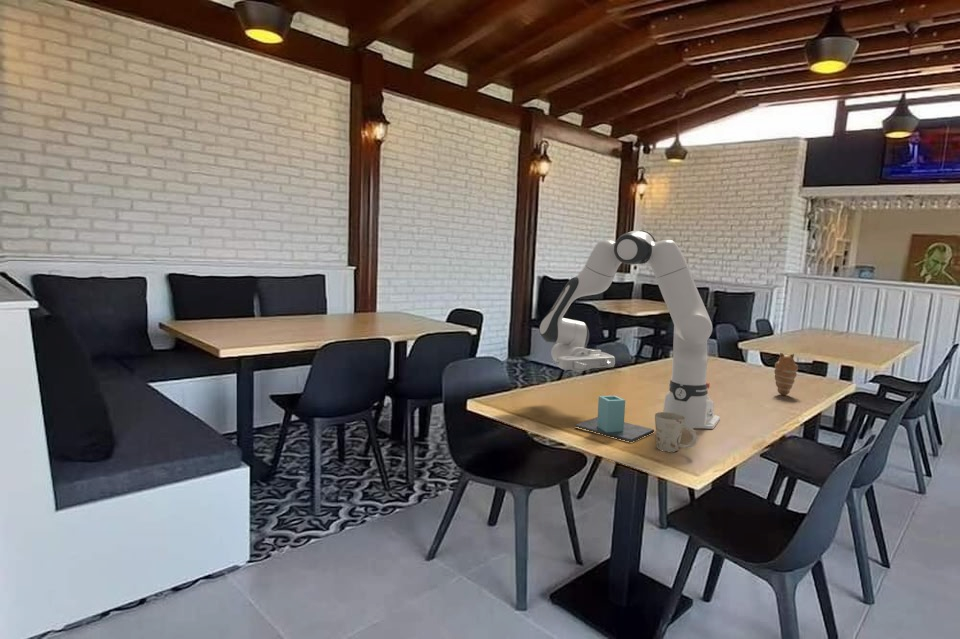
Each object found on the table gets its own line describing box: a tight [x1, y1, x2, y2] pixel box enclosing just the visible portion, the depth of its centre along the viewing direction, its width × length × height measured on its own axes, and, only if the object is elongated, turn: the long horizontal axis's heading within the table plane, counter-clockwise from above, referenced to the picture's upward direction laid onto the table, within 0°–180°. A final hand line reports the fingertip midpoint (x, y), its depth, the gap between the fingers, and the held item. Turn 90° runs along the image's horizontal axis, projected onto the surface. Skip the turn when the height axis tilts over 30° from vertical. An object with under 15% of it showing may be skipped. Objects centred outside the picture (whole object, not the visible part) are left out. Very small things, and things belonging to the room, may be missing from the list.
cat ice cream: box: [774, 352, 799, 396], centre depth 245 cm, size 9×8×18 cm
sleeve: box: [597, 395, 626, 432], centre depth 185 cm, size 6×6×10 cm
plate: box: [574, 416, 655, 443], centre depth 187 cm, size 15×20×6 cm
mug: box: [654, 411, 698, 453], centre depth 169 cm, size 8×13×10 cm, turn 51°
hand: (597, 365), depth 197 cm, fingers open, 8 cm apart
